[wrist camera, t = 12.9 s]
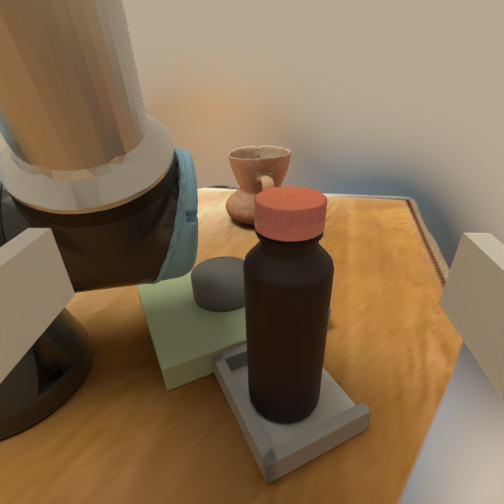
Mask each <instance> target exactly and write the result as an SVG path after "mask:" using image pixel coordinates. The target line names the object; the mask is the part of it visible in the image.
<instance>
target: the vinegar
mask: <svg viewBox="0 0 504 504" xmlns="http://www.w3.org/2000/svg"><path fill="white" fill-rule="evenodd" d="M326 207H327V199H326V196H325V195H324V194H322V193H321V192H318V191H316V190H313V189H309V188H304V187H293V186H289V187H288V186H285V187H275V188H270V189H266V190H264V191H261V192H260V193H258V194H257V195H256V197H255V198H254V211H255V229H256V235H257V237H258V238H259V239H260V242H258V243H257V244H256V245H255V246H254V247H253V248H252V249H251V250H250V251H249V252H248V253H247V255H246V257H245V260H244V264H243V274H244V297H245V320H246V342H247V365H248V388H249V396H250V400H251V403H252V404H253V406H254V407H255V409H256V410H257V412H258V413H260V414H261V415H262V416H263V417H265V418H266V419H268V420H271V421H273V422H276V423H284V424H291V423H295V422H300V421H302V420H303V419H305V418H307V417H308V416H310V414H311V413H312V412H313V411H314V409H315V408H316V407H317V403H318V400H319V396H320V387H321V378H322V370H323V361H324V352H325V344H326V335H327V326H328V318H329V309H330V300H331V292H332V283H333V274H334V266H333V261H332V258H331V256H330V255H329V254H328V253H327V252H326V250H325V249H324V248H323V247H322V246H321V245H320V244H319V240H321V238H322V236H323V231H324V229H325V219H326V218H325V217H326Z"/></svg>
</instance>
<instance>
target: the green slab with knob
mask: <svg viewBox="0 0 504 504" xmlns="http://www.w3.org/2000/svg"><path fill="white" fill-rule="evenodd" d="M244 260H245V257H244V258H236V257H216V258H212V259H208V260H206V261H203V262H201V263H200V264H198V265H197V266H196V267H195V268H194V269H193V270H192V271H190V272H189V273H187V274H186V275H184V276H182V277H179V278H173V279H168V280H163V281H160V282H158V283H156V284H141V285H136V286H137V290H138V294H139V298H140V303H141V306H142V309H143V313H144V316H145V319H146V323H147V326H148V329H149V333H150V336H151V339H152V343H153V346H154V349H155V353H156V356H157V359H158V363H159V366H160V369H161V373H162V376H163V379H164V383H165V386H166V390H167V391H168V390H171V389H173V388H176V387H178V386H181V385H184V384H186V383H189V382H191V381H194V380H196V379H199V378H202V377H204V376H207V375H209V374H212V373H214V374H215V376H216V378H217V380H218V383H219V385H220V387H221V389H222V391H223V393H224V395H225V397H226V399H227V401H228V404H229V406H230V408H231V410H232V412H233V414H234V416H235V418H236V420H237V422H238V425H239V427H240V429H241V431H242V433H243V435H244V437H245V439H246V441H247V444H248V446H249V448H250V450H251V452H252V454H253V456H254V458H255V460H256V462H257V465H258V467H259V469H260V471H261V473H262V475H263V477H264V479H265V481H266V484H267V485H268V484H269V483H271V482H273V481H275V480H277V479H278V478H280V477H282V476H284V475H286V474H287V473H289V472H291V471H293V470H295V469H296V468H298V467H300V466H302V465H304V464H305V463H307V462H309V461H311V460H312V459H314V458H316V457H318V456H320V455H321V454H323V453H325V452H327V451H329V450H330V449H332V448H334V447H336V446H338V445H339V444H341V443H343V442H345V441H346V440H348V439H350V438H352V437H354V436H355V435H357V434H359V433H361V432H363V431H364V430H366V429H367V427H368V423H369V419H370V414H371V410H370V409H369V408H368V407H367V406H366V404H365V403H364V402H361V403H359V404H358V405H355V403H354V402H353V401H352V400H351V399H350V398H349V396H348V395H347V394H346V393H345V392H344V391H343V389H342V388H341V387H340V386H339V385H338V384H337V382H336V381H335V380H334V379H333V378H332V377H331V376H330V374H329V373H328V372H327V371H326V370H325V369H324V367H323V370H322V378H321V387H320V396H319V400H318V403H317V407H316V408H315V409H314V411H313V412H312V413H311V414H310V416H308V417H307V418H305V419H303V420H302V421H300V422H295V423H291V424H284V423H276V422H273V421H271V420H268V419H266V418H265V417H263V416H262V415H261V414H260V413H258V412H257V410H256V409H255V407H254V406H253V404H252V403H251V400H250V396H249V388H248V365H247V342H246V320H245V297H244V274H243V264H244ZM330 314H331V308H330V309H329V318H328V326H327V329H328V328H329V322H330Z"/></svg>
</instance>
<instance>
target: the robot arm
mask: <svg viewBox="0 0 504 504" xmlns="http://www.w3.org/2000/svg"><path fill="white" fill-rule="evenodd" d="M0 133H1V134H2V136H3V138H4V139H5V141H6V144H5V145H4V147H3V149H2V150H1V153H0V440H1V439H4V438H7V437H9V436H12V435H14V434H16V433H18V432H20V431H22V430H24V429H26V428H28V427H30V426H32V425H34V424H35V423H37V422H39V421H40V420H42V419H43V418H45V417H46V416H48V415H49V414H50V413H52V412H53V411H54V410H56V409H57V408H58V407H59V406H60V405H62V404H63V403H64V402H65V401H66V400H67V399H68V398H69V397H70V396H71V395H72V394H73V393H74V392H75V391H76V389H77V388H78V387H79V386H80V384H81V383H82V381H83V380H84V378H85V377H86V375H87V373H88V371H89V369H90V366H91V363H92V358H93V350H92V346H91V343H90V340H89V337H88V334H87V332H86V330H85V329H84V327H83V326H82V324H81V323H80V322H79V321H78V320H77V319H76V318H75V317H74V316H73V315H72V314H71V313H70V312H69V311H68V310H67V309H66V308H65V306H66V305H67V304H68V302H69V301H70V300H71V299H72V298H73V296H74V295H75V293H77V292H85V291H92V290H100V289H108V288H116V287H124V286H133V285H141V284H156V283H158V282H160V281H163V280H168V279H173V278H179V277H182V276H184V275H186V274H187V273H189V272H190V271H191V269H192V268H193V266H194V263H195V260H196V255H197V246H198V219H197V205H198V197H197V184H196V174H195V167H194V163H193V159H192V156H191V154H190V153H189V152H188V151H187V150H184V149H179V148H176V147H173V142H172V139H171V137H170V134H169V132H168V131H167V129H166V128H165V127H164V126H163V125H162V124H161V123H160V122H159V121H158V120H156V119H155V118H153V117H152V116H150V115H148V114H146V113H145V108H144V103H143V98H142V94H141V89H140V84H139V79H138V74H137V70H136V65H135V61H134V55H133V50H132V46H131V41H130V36H129V31H128V26H127V21H126V17H125V12H124V7H123V3H122V0H0ZM439 304H440V306H441V307H442V309H443V310H444V312H445V313H446V315H447V316H448V318H449V319H450V321H451V322H452V324H453V325H454V327H455V328H456V330H457V331H458V333H459V334H460V336H461V337H462V339H463V340H464V342H465V343H466V345H467V346H468V348H469V349H470V351H471V352H472V354H473V355H474V357H475V358H476V360H477V362H478V363H479V365H480V366H481V368H482V369H483V371H484V372H485V373H486V375H487V376H488V378H489V380H490V381H491V383H492V384H493V386H494V387H495V389H496V390H497V391H498V393H499V395H500V396H501V398H502V399H503V400H504V245H503V244H502V243H501V242H500V241H498V240H497V239H496V238H495V237H493V236H492V235H491V234H490V233H463V235H462V238H461V241H460V243H459V246H458V249H457V252H456V255H455V258H454V261H453V264H452V266H451V269H450V272H449V275H448V278H447V281H446V283H445V286H444V289H443V292H442V295H441V298H440V301H439Z"/></svg>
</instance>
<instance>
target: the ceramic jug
mask: <svg viewBox="0 0 504 504" xmlns="http://www.w3.org/2000/svg"><path fill="white" fill-rule="evenodd" d="M290 155H291V151H290V150H289V149H287V148H283V147H277V146H259V147H258V148H257V147H256V146H247V147H241V148H237V149H234V150H233V151H230V152H229V160H230V164H231V167H232V170H233V172H234V175H235V177H236V180H237V182H238V184H239V186H240V189H239V190H237V191H236V192H235V193H233V194H232V195H231V196H230V197H229V198H228V200H227V203H226V210H227V212H228V214H229V215H230V216H231V217H232V218H233V219H235V220H237V221H239V222H241V223H245V224H249V225H255V211H254V198H255V197H256V195H257V194H258V193H260V192H261V191H264V190H266V189H270V188H275V187H280V186H281V184H282V182H283V179H284V177H285V175H286V172H287V169H288V165H289V161H290Z"/></svg>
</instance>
